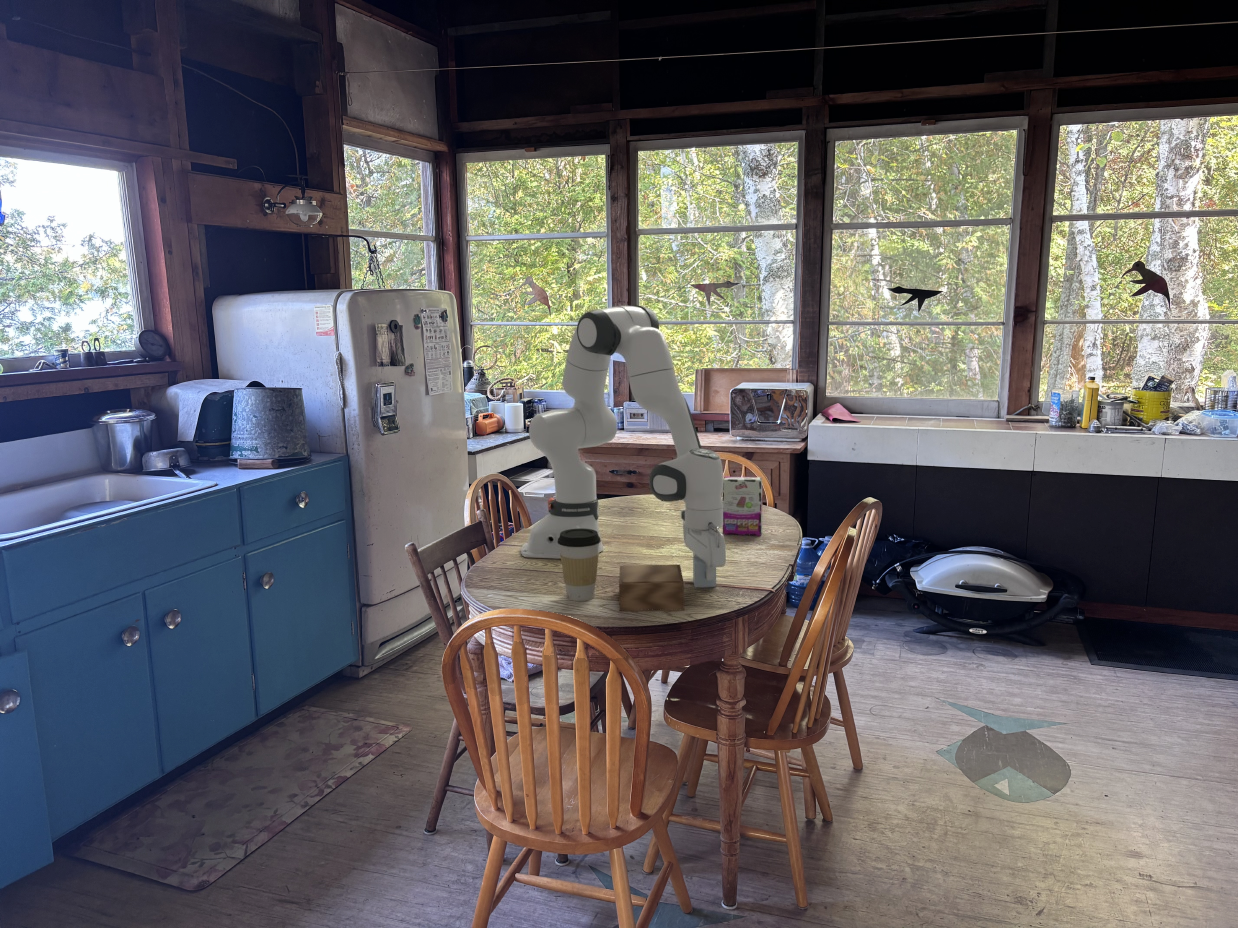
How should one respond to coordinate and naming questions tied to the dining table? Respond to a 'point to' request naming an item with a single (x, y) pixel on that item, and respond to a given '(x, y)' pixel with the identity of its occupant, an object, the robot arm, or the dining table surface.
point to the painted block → (701, 574)
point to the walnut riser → (651, 588)
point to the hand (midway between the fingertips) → (704, 575)
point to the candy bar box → (742, 506)
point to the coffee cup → (579, 562)
